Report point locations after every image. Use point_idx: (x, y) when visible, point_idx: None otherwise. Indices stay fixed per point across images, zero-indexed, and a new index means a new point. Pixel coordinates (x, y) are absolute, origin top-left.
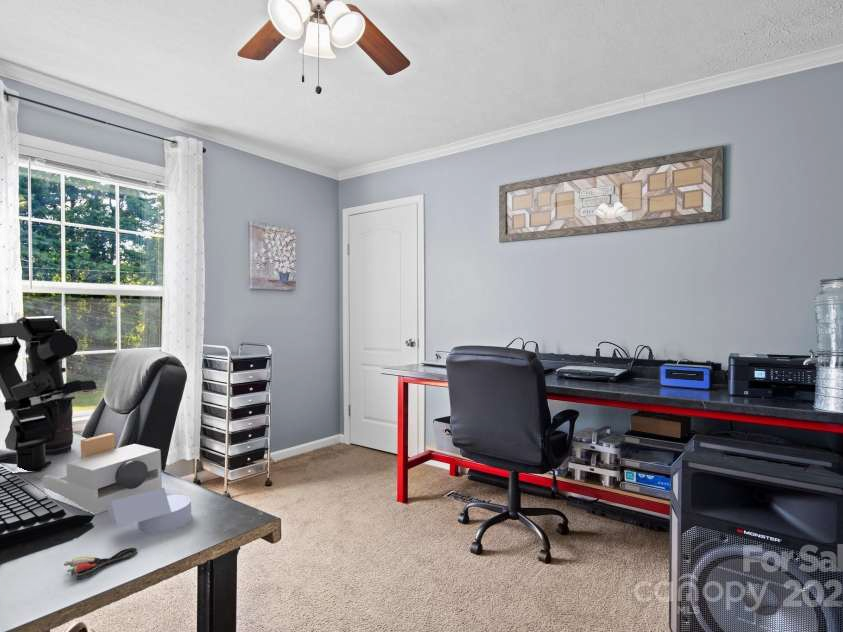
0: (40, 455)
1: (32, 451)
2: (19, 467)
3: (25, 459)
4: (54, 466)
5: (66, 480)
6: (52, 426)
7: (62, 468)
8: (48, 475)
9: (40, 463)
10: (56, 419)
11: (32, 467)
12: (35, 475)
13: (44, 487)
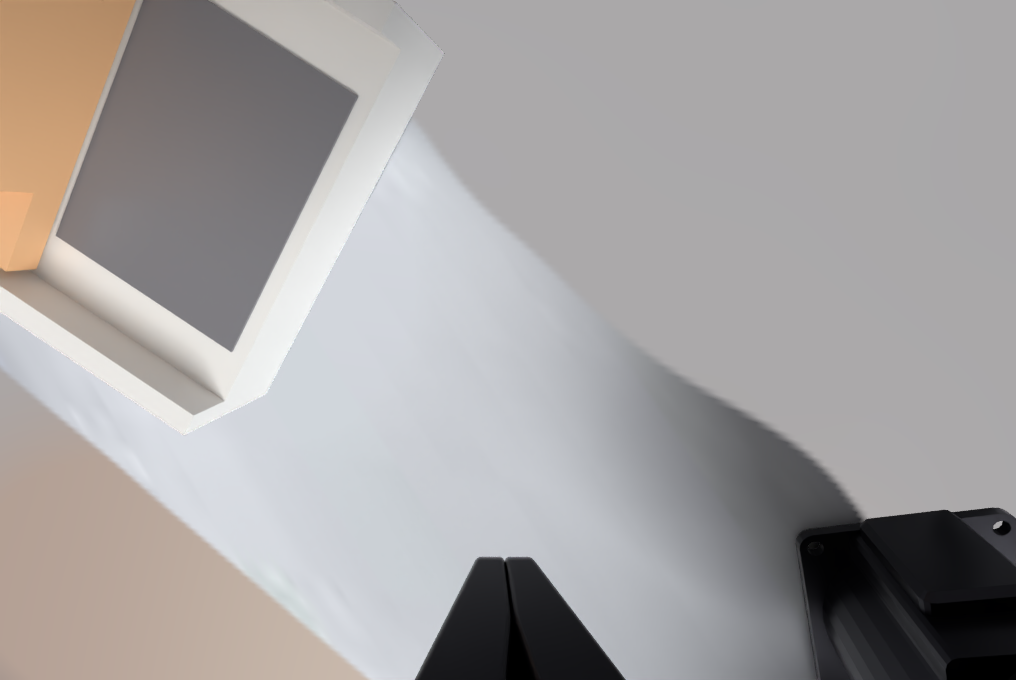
0: (867, 652)
1: (926, 636)
2: (954, 525)
3: (940, 566)
4: (761, 623)
5: (267, 50)
6: (548, 591)
7: (673, 570)
8: (362, 13)
9: (841, 604)
10: (434, 670)
11: (862, 545)
12: (785, 463)
13: (422, 32)
